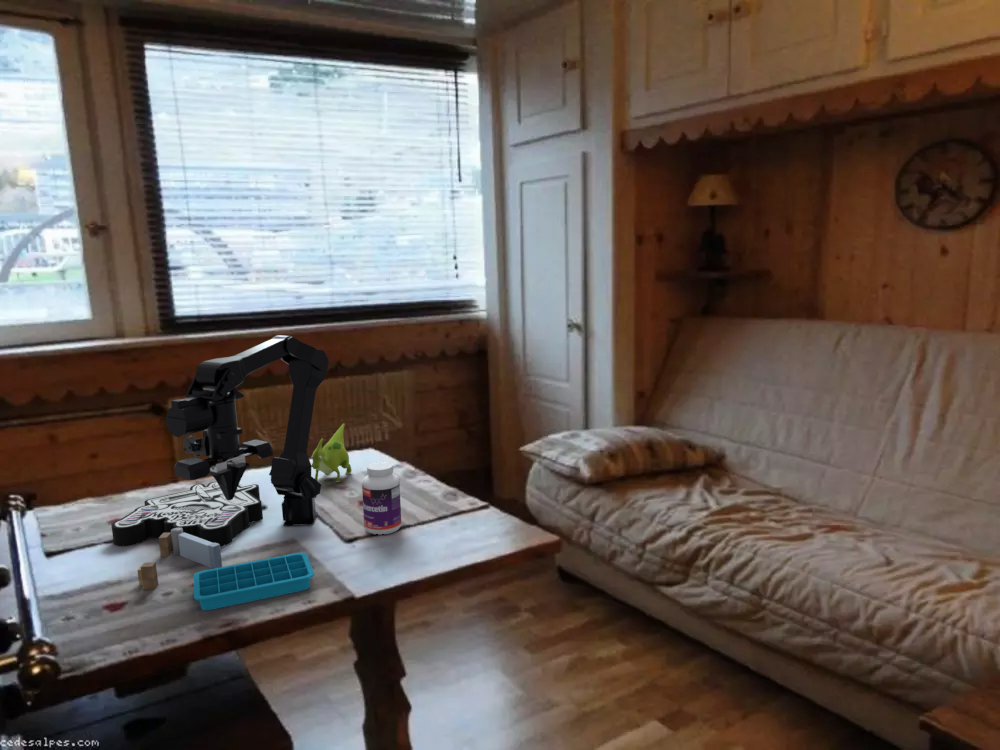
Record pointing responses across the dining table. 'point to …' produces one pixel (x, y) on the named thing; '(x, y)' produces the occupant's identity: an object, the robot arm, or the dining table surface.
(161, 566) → the dining table surface
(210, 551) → the pale blue flat bar
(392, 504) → the pill bottle
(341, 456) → the toy
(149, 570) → the wooden block
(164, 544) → the brown angular block
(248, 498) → the decorative sign
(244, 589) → the ice cube tray
